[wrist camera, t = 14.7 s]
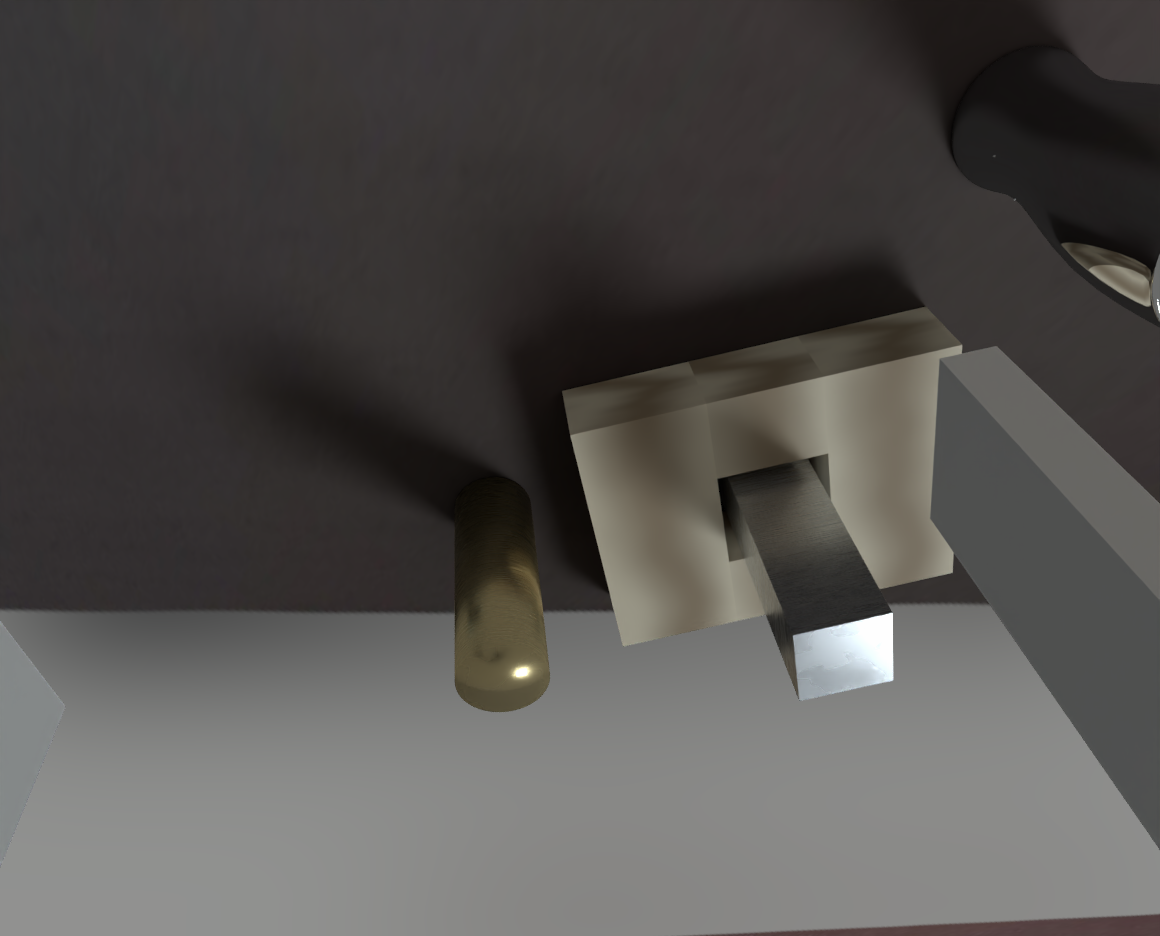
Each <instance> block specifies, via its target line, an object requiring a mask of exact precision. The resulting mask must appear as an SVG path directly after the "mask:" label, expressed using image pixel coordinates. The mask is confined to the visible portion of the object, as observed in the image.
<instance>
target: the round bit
mask: <svg viewBox="0 0 1160 936" xmlns="http://www.w3.org/2000/svg"><path fill="white" fill-rule="evenodd" d="M549 681H550V672H549V662H548V654H547V645H546V635H545V626H544V617H543V608H542V599H541V590H540V581H539V572H538V563H537V554H536V545H535V536H534V527H533V518H532V509H531V502H530V498H529V496H528V494H527V492H526V491H525V490H524V489H523V488H522V487H521V486H520V485H519V484H517V483H515V482H514V481H511V480H509V479H505V478H500V477H488V478H483V479H479V480H476V481H474V482H472V483H470V484H469V485H467V486H466V487H465V488H464V489H463V490H462V491H461V492H460V493H459V495H458V497H457V499H456V502H455V686H456V690H457V692H458V694H459V695H460V697H461V698H462V699H463V700H464V701H465V702H467V703H468V704H470V705H471V706H473V707H476V708H478V709H482V710H485V711H491V712H507V711H513V710H517V709H521V708H523V707H526V706H528V705H530V704H532V703H533V702H535V701H536V700H537V699H539V698H540V697H541V695H543V693H544V692H545V691H546V689H547V687H548V685H549Z"/></svg>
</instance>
